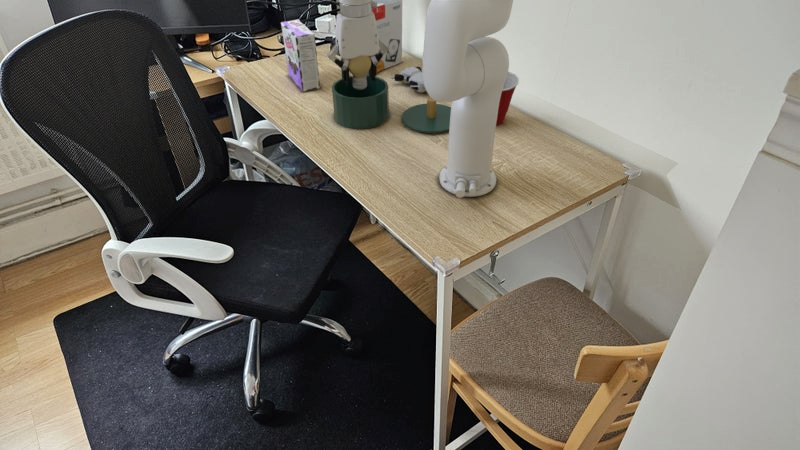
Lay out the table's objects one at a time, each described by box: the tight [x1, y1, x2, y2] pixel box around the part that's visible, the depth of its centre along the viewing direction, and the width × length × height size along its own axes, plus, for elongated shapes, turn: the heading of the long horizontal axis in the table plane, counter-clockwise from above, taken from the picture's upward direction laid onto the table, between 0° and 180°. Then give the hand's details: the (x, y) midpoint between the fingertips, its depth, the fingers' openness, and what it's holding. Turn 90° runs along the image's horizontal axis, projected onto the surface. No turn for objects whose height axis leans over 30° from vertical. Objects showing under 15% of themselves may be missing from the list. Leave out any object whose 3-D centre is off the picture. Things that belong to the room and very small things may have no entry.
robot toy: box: [389, 66, 427, 94], centre depth 153 cm, size 12×4×15 cm
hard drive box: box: [366, 0, 403, 75], centre depth 160 cm, size 16×8×20 cm, turn 136°
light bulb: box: [347, 56, 371, 90], centre depth 132 cm, size 6×6×10 cm
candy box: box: [280, 18, 321, 92], centre depth 152 cm, size 14×6×16 cm, turn 27°
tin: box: [331, 75, 390, 130], centre depth 137 cm, size 15×15×8 cm
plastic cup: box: [496, 71, 520, 127], centre depth 133 cm, size 11×11×12 cm
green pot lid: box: [401, 96, 451, 134], centre depth 136 cm, size 16×16×6 cm
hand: (359, 80), depth 133 cm, fingers closed on light bulb, 6 cm apart
